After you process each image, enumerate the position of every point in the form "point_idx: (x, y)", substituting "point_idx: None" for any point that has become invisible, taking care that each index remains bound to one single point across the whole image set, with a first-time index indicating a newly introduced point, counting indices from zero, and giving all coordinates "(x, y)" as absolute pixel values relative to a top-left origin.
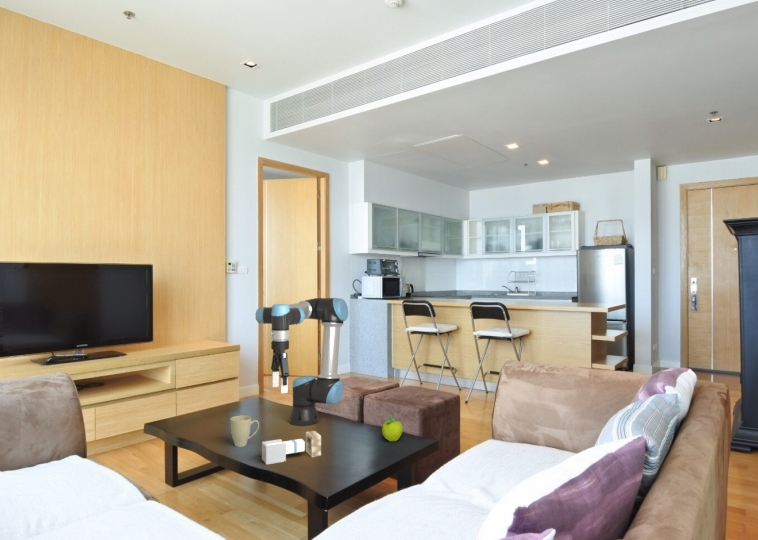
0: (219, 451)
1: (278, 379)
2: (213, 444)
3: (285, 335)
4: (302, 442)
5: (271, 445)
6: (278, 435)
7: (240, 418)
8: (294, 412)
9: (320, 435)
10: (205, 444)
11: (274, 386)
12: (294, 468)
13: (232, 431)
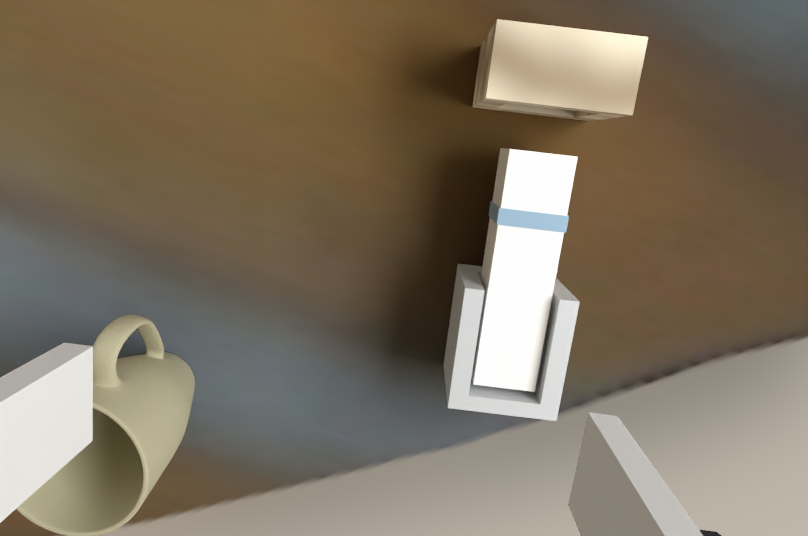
0: (210, 496)
1: (4, 408)
2: None
3: None
4: (574, 173)
5: (549, 386)
6: (89, 125)
7: None
8: None
9: (636, 36)
10: None
11: (89, 418)
12: (675, 278)
13: (137, 479)
